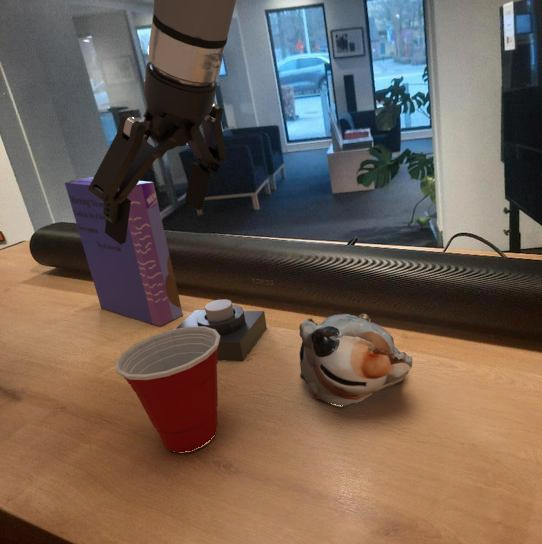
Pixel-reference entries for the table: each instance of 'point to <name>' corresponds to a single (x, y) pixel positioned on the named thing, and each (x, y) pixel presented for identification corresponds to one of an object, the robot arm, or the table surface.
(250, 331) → the push button base
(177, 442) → the plastic cup
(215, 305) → the white push button
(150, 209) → the cereal box
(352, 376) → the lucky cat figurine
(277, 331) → the table surface
